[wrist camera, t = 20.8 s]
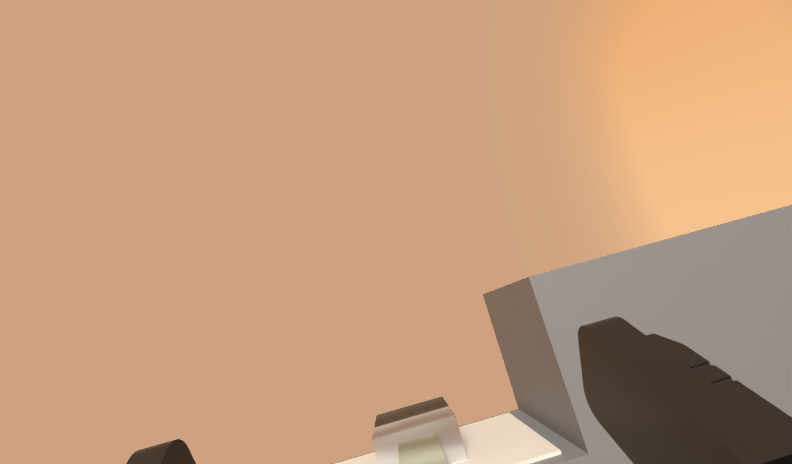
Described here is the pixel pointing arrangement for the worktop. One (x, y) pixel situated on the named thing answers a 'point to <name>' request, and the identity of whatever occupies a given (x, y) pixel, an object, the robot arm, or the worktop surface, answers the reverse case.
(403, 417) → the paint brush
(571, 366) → the step shelf
